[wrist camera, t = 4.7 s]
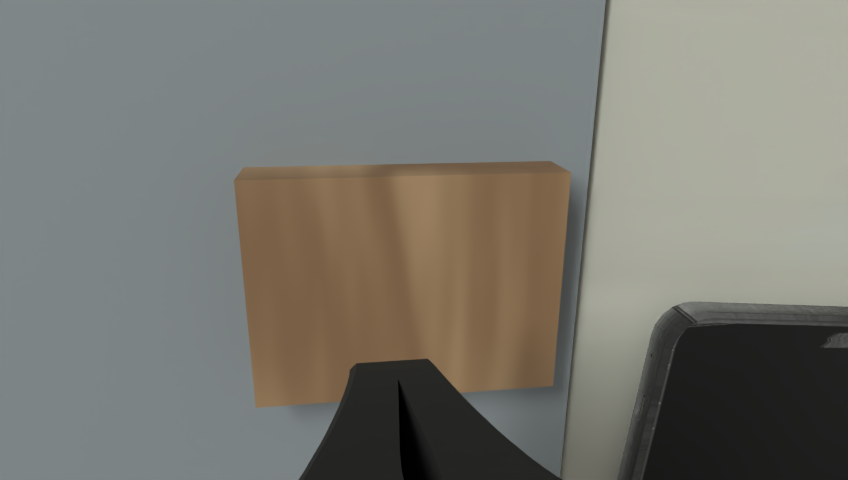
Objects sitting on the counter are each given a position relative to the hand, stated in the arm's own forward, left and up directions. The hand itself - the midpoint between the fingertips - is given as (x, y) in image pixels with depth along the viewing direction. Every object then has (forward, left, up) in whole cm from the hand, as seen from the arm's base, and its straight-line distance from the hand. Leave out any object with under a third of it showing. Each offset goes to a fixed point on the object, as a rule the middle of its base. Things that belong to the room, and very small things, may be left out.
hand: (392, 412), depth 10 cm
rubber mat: (-3, 0, -7) cm, 8 cm away
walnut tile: (-3, 0, -6) cm, 7 cm away
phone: (+16, -6, -8) cm, 19 cm away
